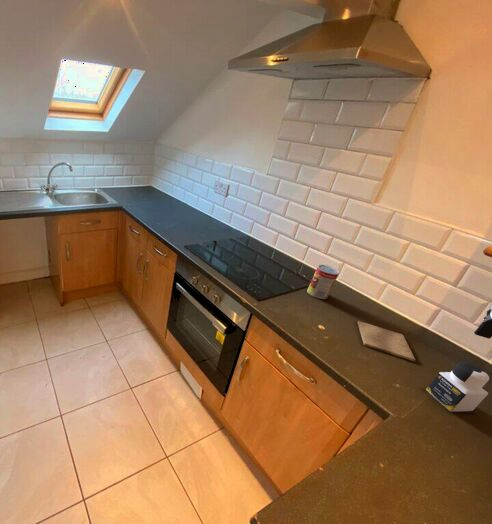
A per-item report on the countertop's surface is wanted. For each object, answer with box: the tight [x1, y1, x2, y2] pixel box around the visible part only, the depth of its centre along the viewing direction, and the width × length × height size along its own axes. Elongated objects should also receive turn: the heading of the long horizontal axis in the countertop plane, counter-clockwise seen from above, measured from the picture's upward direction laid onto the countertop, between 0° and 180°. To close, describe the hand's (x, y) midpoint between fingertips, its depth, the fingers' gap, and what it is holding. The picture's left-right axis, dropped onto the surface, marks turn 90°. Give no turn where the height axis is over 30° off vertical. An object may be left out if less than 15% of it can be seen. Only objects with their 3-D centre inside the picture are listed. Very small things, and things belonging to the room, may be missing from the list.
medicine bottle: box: [425, 361, 490, 413], centre depth 80 cm, size 7×7×12 cm
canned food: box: [306, 264, 340, 300], centre depth 125 cm, size 8×8×12 cm
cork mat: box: [357, 320, 416, 362], centre depth 103 cm, size 14×14×1 cm
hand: (491, 347), depth 74 cm, fingers open, 9 cm apart
